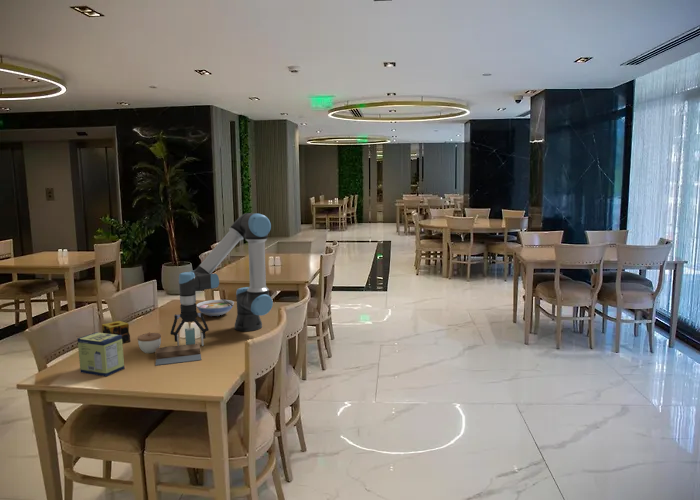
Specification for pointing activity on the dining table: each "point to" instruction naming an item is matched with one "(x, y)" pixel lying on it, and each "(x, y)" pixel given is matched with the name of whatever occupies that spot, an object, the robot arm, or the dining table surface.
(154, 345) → the lidded jar
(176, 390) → the dining table surface
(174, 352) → the ledge
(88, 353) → the protein box
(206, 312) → the ramen bowl
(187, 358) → the mat
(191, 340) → the block
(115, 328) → the black yellow box
